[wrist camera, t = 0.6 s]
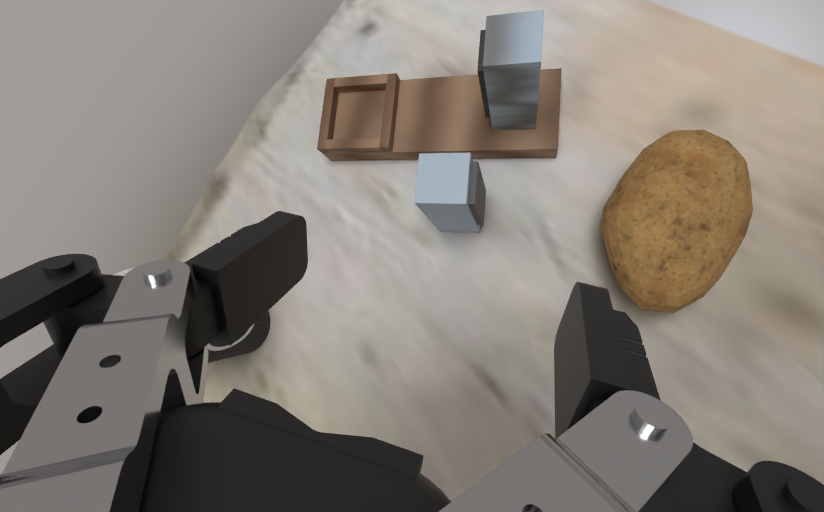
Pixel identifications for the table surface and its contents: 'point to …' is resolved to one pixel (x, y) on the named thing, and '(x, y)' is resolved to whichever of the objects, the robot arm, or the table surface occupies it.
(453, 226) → the block
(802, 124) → the table surface
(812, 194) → the table surface
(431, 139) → the wooden block holder
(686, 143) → the potato
